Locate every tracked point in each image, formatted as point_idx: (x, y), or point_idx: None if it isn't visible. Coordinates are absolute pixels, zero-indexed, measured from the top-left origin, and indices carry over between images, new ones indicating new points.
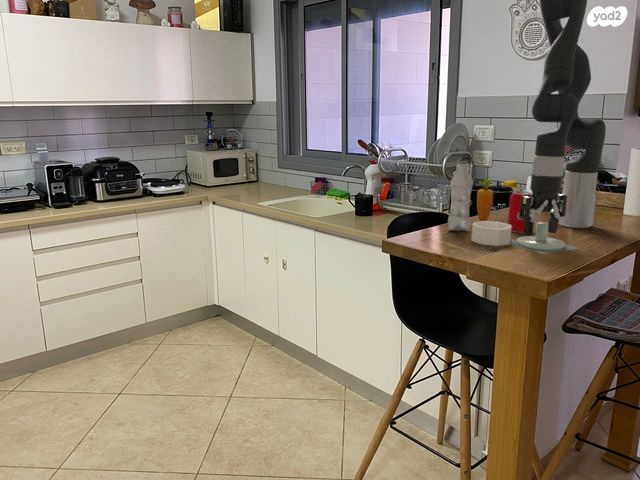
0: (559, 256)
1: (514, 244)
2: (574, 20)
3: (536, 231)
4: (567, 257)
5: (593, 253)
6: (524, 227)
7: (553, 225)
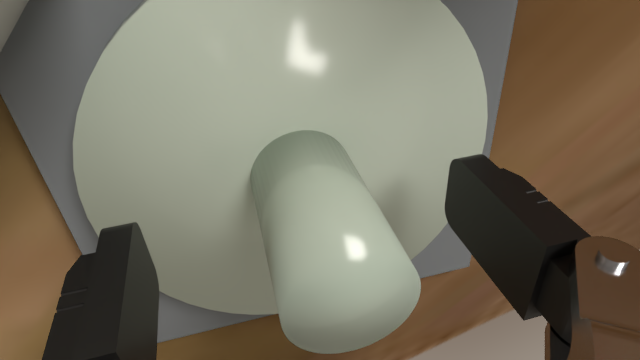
0: (250, 335)
1: (45, 98)
2: None
3: (265, 234)
4: (280, 349)
5: (472, 298)
6: (57, 315)
7: (486, 254)
